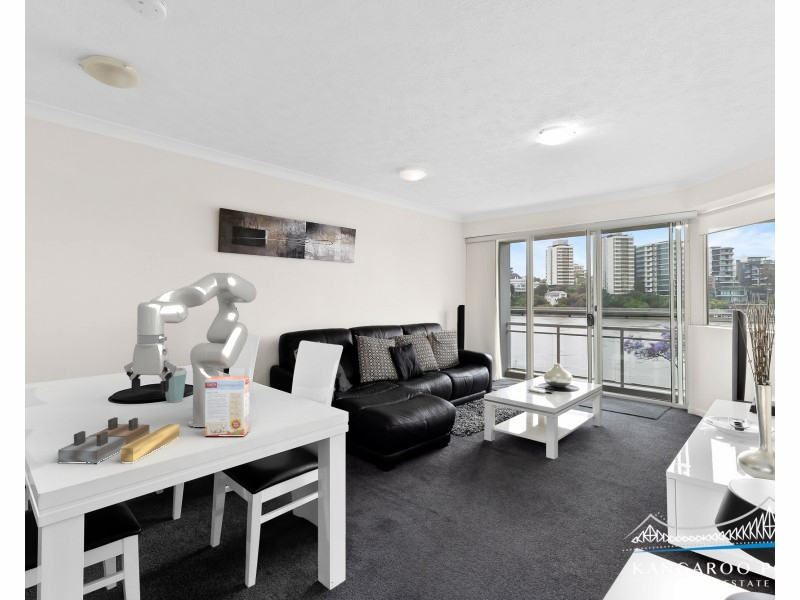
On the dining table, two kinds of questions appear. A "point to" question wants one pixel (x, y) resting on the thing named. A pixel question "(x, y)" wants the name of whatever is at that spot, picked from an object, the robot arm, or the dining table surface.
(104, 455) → the door and jamb
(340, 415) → the dining table surface
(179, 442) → the dining table surface
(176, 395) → the disposable coffee cup
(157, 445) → the bar
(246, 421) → the cracker box
